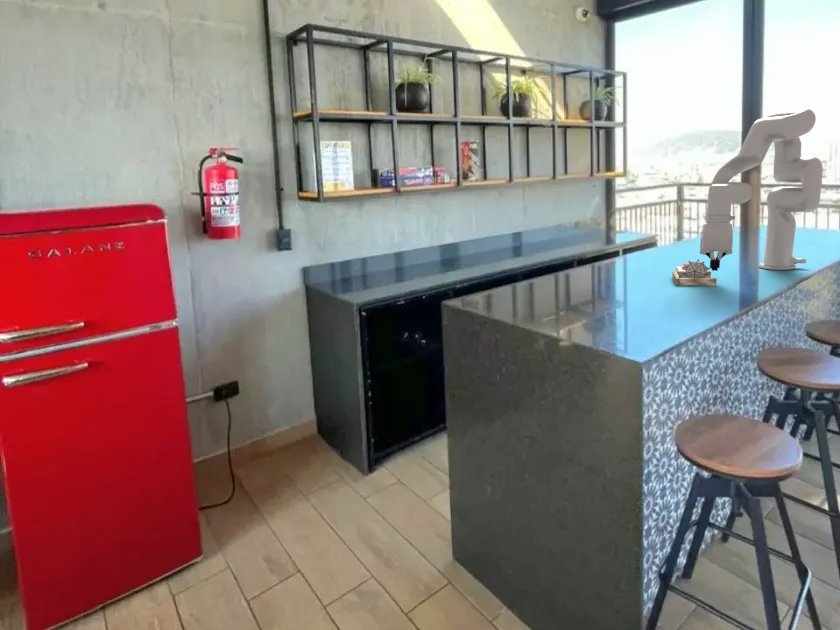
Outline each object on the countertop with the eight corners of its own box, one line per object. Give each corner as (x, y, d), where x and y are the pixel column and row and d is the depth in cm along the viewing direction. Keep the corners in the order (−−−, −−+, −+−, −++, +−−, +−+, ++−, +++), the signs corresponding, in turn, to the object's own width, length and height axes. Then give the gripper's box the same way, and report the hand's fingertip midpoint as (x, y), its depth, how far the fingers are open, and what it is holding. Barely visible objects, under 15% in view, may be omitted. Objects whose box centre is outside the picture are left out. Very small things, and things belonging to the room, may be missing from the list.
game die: (700, 292, 214) (717, 273, 207) (679, 284, 214) (694, 265, 206) (697, 276, 220) (713, 257, 213) (676, 269, 220) (691, 250, 213)
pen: (710, 277, 220) (710, 271, 219) (716, 285, 206) (716, 279, 205) (672, 277, 224) (672, 270, 224) (675, 285, 210) (676, 278, 209)
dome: (698, 270, 228) (699, 262, 227) (700, 273, 223) (701, 265, 222) (682, 270, 230) (682, 262, 229) (683, 273, 225) (684, 265, 224)
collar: (703, 272, 230) (704, 266, 229) (707, 277, 221) (707, 270, 220) (676, 272, 233) (676, 266, 232) (678, 277, 224) (678, 270, 223)
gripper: (739, 217, 208) (735, 268, 213) (694, 218, 213) (690, 268, 218) (743, 220, 201) (739, 272, 206) (696, 221, 206) (693, 271, 211)
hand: (714, 270), depth 212 cm, fingers closed
